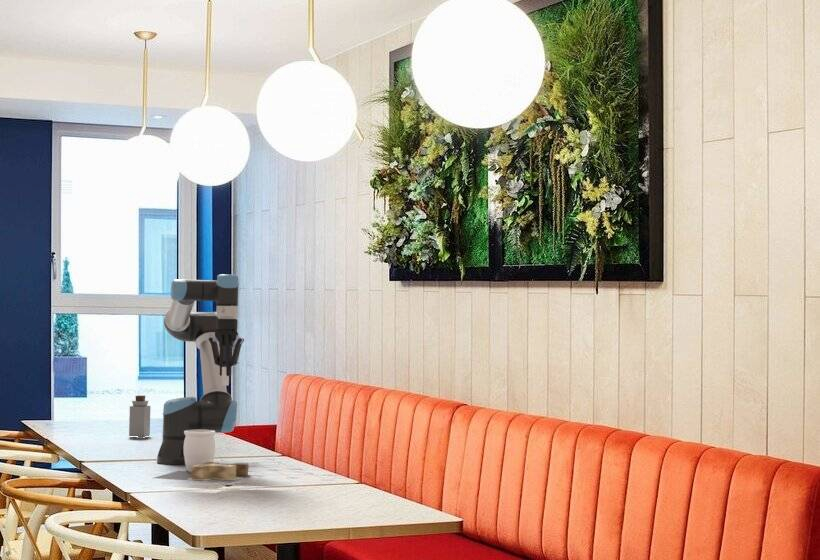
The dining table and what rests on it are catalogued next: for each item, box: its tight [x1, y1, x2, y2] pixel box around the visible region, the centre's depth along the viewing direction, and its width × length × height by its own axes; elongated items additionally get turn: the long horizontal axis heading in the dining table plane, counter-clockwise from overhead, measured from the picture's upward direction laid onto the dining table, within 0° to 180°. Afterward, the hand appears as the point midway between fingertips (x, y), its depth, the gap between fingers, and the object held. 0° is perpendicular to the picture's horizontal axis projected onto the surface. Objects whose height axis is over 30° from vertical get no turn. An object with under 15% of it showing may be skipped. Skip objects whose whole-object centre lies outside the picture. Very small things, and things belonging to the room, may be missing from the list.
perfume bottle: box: [128, 394, 151, 437], centre depth 484 cm, size 7×7×18 cm
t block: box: [190, 461, 236, 480], centre depth 362 cm, size 12×12×4 cm
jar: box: [184, 429, 216, 472], centre depth 378 cm, size 11×10×15 cm
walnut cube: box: [233, 462, 249, 478], centre depth 367 cm, size 4×4×4 cm
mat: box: [153, 470, 253, 488], centre depth 363 cm, size 27×18×1 cm, turn 74°
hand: (225, 385), depth 392 cm, fingers closed
